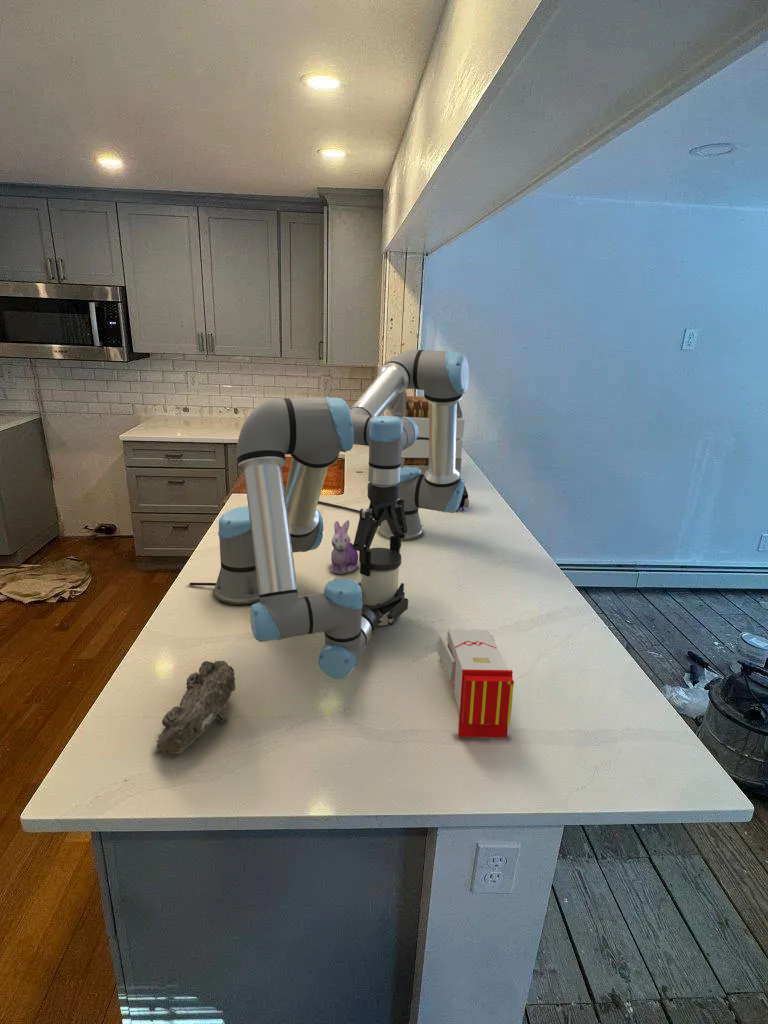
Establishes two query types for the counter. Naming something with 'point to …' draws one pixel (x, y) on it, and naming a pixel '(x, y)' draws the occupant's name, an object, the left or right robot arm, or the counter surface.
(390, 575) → the jar
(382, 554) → the lid
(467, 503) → the figurine character
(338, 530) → the figurine
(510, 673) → the toy
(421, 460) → the white wooden crate
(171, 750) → the fossil
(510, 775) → the counter surface
